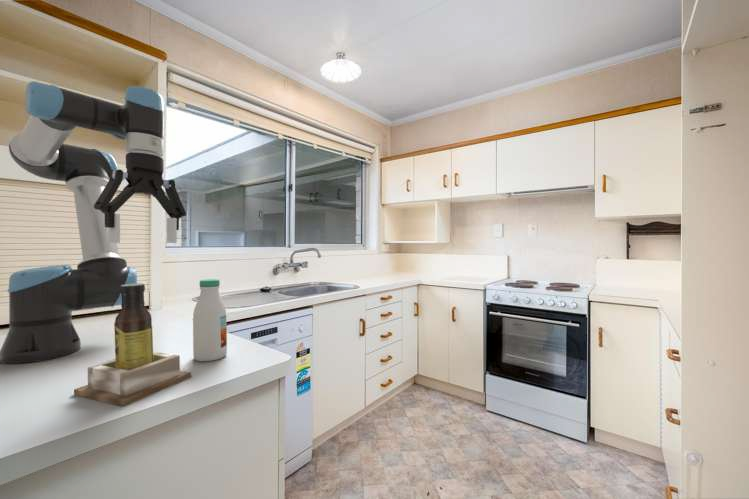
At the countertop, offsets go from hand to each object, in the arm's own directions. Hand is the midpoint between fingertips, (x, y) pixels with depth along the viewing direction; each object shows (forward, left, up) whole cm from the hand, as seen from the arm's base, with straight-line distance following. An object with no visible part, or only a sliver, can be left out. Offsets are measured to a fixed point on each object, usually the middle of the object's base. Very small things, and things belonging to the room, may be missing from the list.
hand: (145, 243), depth 80 cm
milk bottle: (+11, +9, -30) cm, 33 cm away
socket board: (+11, -10, -30) cm, 33 cm away
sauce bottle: (+11, -10, -29) cm, 32 cm away
